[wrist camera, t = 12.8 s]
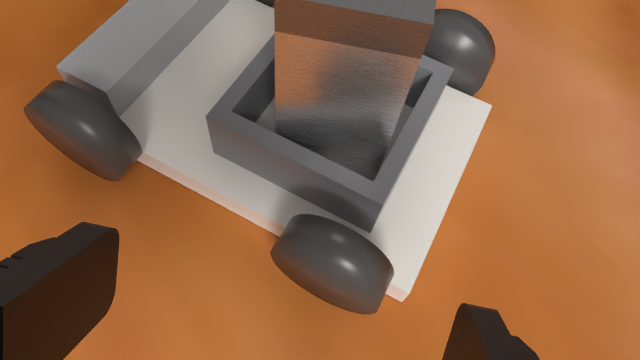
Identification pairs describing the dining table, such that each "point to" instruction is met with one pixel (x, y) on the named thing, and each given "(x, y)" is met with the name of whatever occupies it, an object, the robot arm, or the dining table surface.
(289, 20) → the grey-topped square pillar
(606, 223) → the dining table surface
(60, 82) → the car chassis
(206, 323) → the dining table surface
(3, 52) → the dining table surface
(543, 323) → the dining table surface
